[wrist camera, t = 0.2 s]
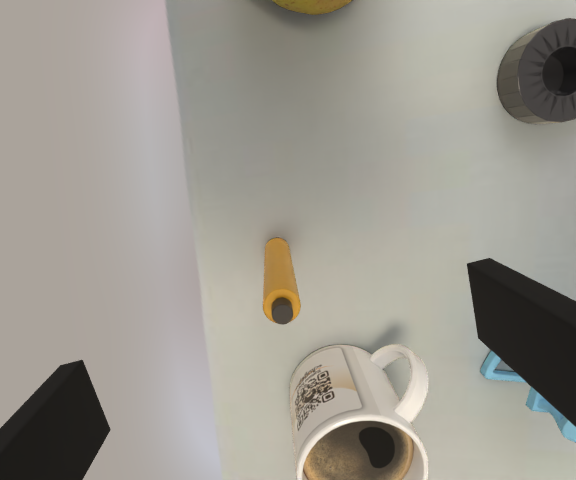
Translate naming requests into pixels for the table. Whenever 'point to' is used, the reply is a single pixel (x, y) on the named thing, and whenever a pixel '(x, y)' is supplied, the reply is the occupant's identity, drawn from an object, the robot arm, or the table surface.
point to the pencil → (279, 283)
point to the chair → (534, 397)
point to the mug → (357, 416)
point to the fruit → (312, 5)
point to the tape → (541, 75)
